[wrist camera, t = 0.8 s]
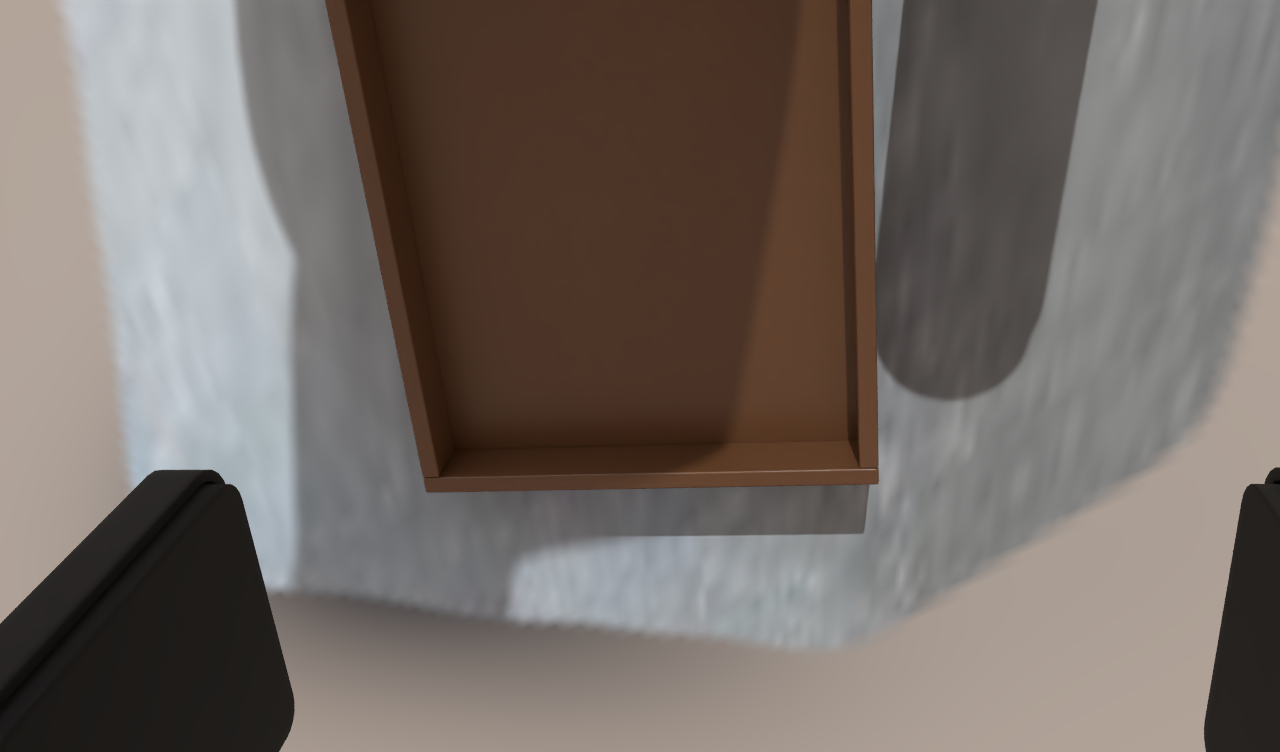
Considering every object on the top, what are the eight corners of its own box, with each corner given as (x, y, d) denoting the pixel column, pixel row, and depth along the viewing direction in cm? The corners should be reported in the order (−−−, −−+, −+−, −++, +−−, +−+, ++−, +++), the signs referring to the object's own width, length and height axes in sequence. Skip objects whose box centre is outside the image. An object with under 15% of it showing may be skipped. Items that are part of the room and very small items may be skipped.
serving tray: (335, -118, 34) (300, -113, 32) (865, -175, 31) (869, -174, 29) (446, 455, 42) (425, 493, 40) (874, 445, 40) (878, 485, 37)
